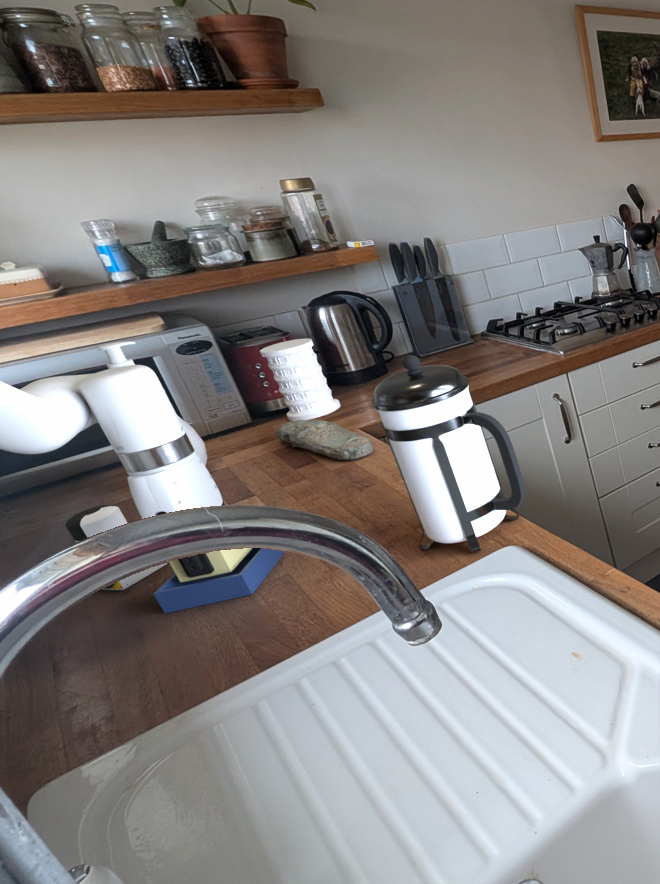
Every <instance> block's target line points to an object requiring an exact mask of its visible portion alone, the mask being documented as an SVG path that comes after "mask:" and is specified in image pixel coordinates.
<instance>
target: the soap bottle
mask: <svg viewBox="0 0 660 884" xmlns="http://www.w3.org/2000/svg"><path fill="white" fill-rule="evenodd" d="M127 345H136V341H131V340H127V341H126V340H125V341H116V342H111V343H106V344H102V345H100V346H98V347H97V349H98V351H104V353H105V354H106V356H107V358H108V361H110V362H109V363H107V364H106V367H107V370H108V369H112V368H116V367H122V366H128V365H136V364H135V362H134V360H133V359H132V358H127V357H126V356H125V354H124V352H123V350H122V348H121V347H123V346H127ZM164 391H165V392H166V390H165V389H164ZM177 416H178V418H179V420H180V422H181V424H182V426H183V428H184V430H185V432H186V434H187V436H188V438H189V440H190V442H191V444H192V446H193V447H194V450H195V452H196V454H197V455H198V457H199V458H200V460H201V461H202V462H203V464H204V465H205V467H206V466H207V463H208V462H207V461H208V454H207V450H206V444H205V441H204V440H203V439H202V438H201V436H200V435H199V434H198V433H197V432H196V430H195V429H194V427H192V426H191V425H190V424H189V423H187V422H186V421H185V420H184V419H183V418H181V417H180V416H179V415H178V414H177Z"/></svg>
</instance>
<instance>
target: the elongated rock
mask: <svg viewBox="0 0 660 884" xmlns="http://www.w3.org/2000/svg"><path fill="white" fill-rule="evenodd" d="M274 432H275V436H276V437H277V438H278V439H280V440H282V441H283V442H285V443H287V444H290V446H291V448H301V449H303V450H309V451H311V452H313V453H315V454H319V455H320V454H321V455H324V456H326V457H329V458H332V459H334V460H340V461H341V460H346V461H347V460H356V459H360V458H363V457H366V456H368V455H371V454H372V452H374V445H373V443H372V441H371V440H370V439H369V437H367V436H364V435H360V434H358V432H354V431H351V430H349V429H347V428H345V427H341V426H339V425H338V423H336V422H335V421H331V422H330V421H327V420H322V419H309V420H297V421H289V422H285V423H283V424H282V425H278V427H277V428H275V431H274Z"/></svg>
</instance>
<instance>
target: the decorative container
mask: <svg viewBox="0 0 660 884" xmlns="http://www.w3.org/2000/svg"><path fill="white" fill-rule="evenodd" d="M314 345H315V344H314V342H313V339H312V338H307V337H306V338H296V339H291V340H286V341H281V342H277V343H274V344H271V345H268V346H265V347H262V348H261V349H260V350H259V353H260V356H261V357H262V358H266V360H267V362H268V364H267V366H268V368H269V370H271V372H272V373H273V380H274V381H275V382H276V383H277V384H278V391H279V393H280V394H281V395H282V396H283V398H284V399H283V400H284V401H283V402H284V404H285V405H286V407H287V408H288V409H289V411H288V412H287V413H286V417H287V420H289V422H292V421H297V420H314V419H316V418H321V417H323V416H327V415H329V414H331V413H333V412H335V411H337V410H338V409H340V408H341V406H342V405H341V403H340V400H339V399H337V398H333V396H332V394H333V393H332V389H331V388H330V387H329V386H328V381H327V377H326V376H325V375H324V374H323V368H322V365H321V364H320V363H319V362H318V355H317V353H315V352H314V350H313V348H312V347H314Z"/></svg>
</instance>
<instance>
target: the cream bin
mask: <svg viewBox="0 0 660 884" xmlns="http://www.w3.org/2000/svg"><path fill="white" fill-rule="evenodd" d="M251 549H252V548H243V549H231V550H220V551H213V552H209V553H206V554H207V556H208V558H209V560H210V562H211V564H212V565H213V567H214V571H213V572H212V573H211V574H206V575H201V576H197V577H192V578H190V577H188V576H187V574H186V573H185V571H184V569H183V567H182V566H181V564H180V562H179V560H174V561H170V562H169V561H168V563H169V565H170V567H171V569H172V570H173V573H175V574H176V575H177V577H178V579H179V581H180V582H186V581H190V580H195V579H200V578H205V577H210V576H214V575H219V574H224V573H229V572H232V571H233V570H234V569H235V567H236V566H237V565H238V564H239V563H240V562H241V561H242V559H243V558H244V557H245V556H246V555H247V554H248V553H249V552H250V550H251Z"/></svg>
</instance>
